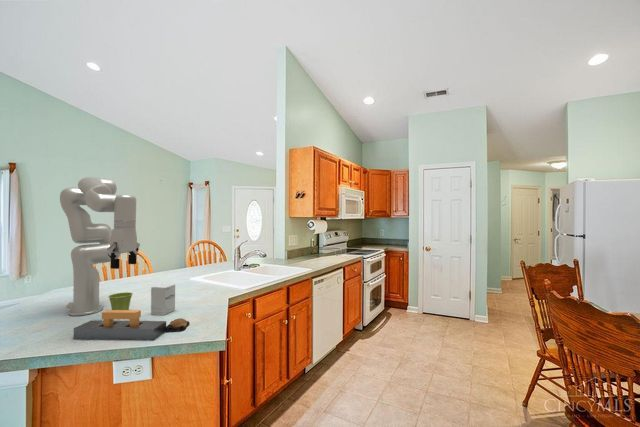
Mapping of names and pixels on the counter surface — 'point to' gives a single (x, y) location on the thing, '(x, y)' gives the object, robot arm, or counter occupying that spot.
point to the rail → (120, 330)
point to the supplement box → (162, 299)
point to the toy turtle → (177, 325)
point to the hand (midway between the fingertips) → (123, 266)
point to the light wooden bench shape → (121, 317)
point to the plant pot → (120, 301)
